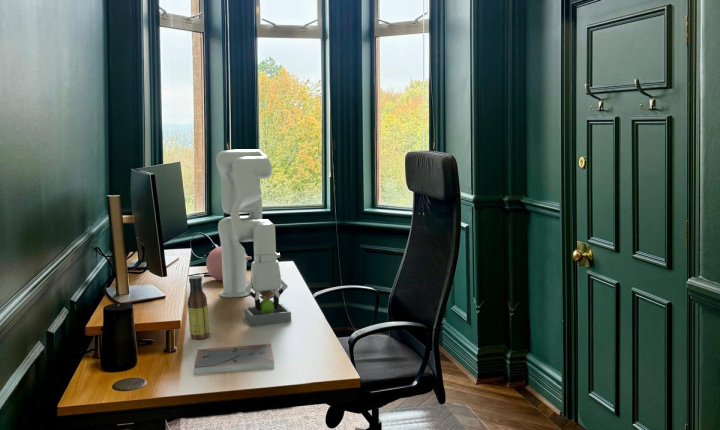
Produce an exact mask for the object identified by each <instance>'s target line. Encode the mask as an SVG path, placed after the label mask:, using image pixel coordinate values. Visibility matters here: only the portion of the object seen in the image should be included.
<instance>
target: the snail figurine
mask: <svg viewBox="0 0 720 430" xmlns="http://www.w3.org/2000/svg"><path fill="white" fill-rule="evenodd" d="M275 291H276V290H270V291H261V292H260V295H259V299H260V309H261V310H260V311H261V312H262V313H263V314H271V313H272V312H273V311H274V308H275V305H274V302H273V300H272V299H273V297H274V295H275Z"/></svg>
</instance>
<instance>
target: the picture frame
mask: <svg viewBox="0 0 720 430" xmlns="http://www.w3.org/2000/svg"><path fill="white" fill-rule="evenodd" d="M195 357H196V358H195V362H194V374H195V375H198V374H211V373H222V372H223V373H225V372H235V371H247V370H256V369H257V370H258V369H259V370H261V369H268V368H270V369H271V368H273V369H274V368H275V360H274V352H273V348H272V343H260V344H250V345H248V344H247V345H236V346H235V345H233V346H223V347H210V348H209V347H208V348H197V351H196V356H195Z"/></svg>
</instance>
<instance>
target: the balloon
mask: <svg viewBox="0 0 720 430" xmlns="http://www.w3.org/2000/svg"><path fill="white" fill-rule="evenodd" d="M252 259H253V258H252V256H248V254H247V253H246V263H248V261H249V260H252ZM205 264H206V265H205V266H206V270H207V272H208V274H209V275H210V276H211V277H212V278H213V279H214V280H217V281H219V282H220V281H221V282H223V272H222V252H221V246H217V247H215V248H214V249H212V250H211V251H210V252H209V254H208V255H207V258H206V263H205Z"/></svg>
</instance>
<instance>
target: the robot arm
mask: <svg viewBox="0 0 720 430" xmlns="http://www.w3.org/2000/svg"><path fill="white" fill-rule="evenodd" d="M215 161H216V168H217V170H218V174H219V177H220V182H221V183H220V184H221V186H220V187H221V188H220V189H221V191H220V192H221V208H222V211H223V213H225V214H227V215H230V216H227V217H224V218H222V219H220V220H219V221H218V225H217V230H218V236H219V241H220V247H221V252H222V272H223V281H222V288H223V289H222V290H220V291H219V296H220V297H223V298H242V297H247V296H249V295H250V296H251V297H252V298H253V299H254V307H255V308H257V310H258V311H260V310H261V309H260V302H261V298H260V296H261V294H260V292H261V291H270V290H276V291H275V295H274V297H273V298H272V299H273V300H272V301H273V302H274V305H275V309H278V306H279V304H280V300H279V299H280V297H281V295H282V294H283V293H284V292H285V290H287V289H288V287H289V286H288V285H287V283H286V282H285V281H284V280H283V279H282V275H281V269H280V265H279V260H278V258H281V254H280V253H278V252H277V247H276V246H277V245H276V244H277V243H276V226H275V224H274V223H273V222H272V221H271V220H270V219H268V218H267V219H266V218H265V219H263V198H262V187H261V184H260V181H259V180H263V179H264V180H265V179H269V178H270V177H271V176H272V172H273V167H272V163H271V161H270V158H269V157H268V156H267V155H266V154H265V153H263V152H262V150H260V149H255V148H254V149H228V150H227V149H226V150H222V151H219V152H218V153H217V155H216V160H215ZM241 214H249V215H241ZM248 242H253V261H252V262H251V267H250V281H249V283H248V277H247V276H248V275H247V262H246V254H247V253H246V250H245V249H246V248H244V246H243V245H242V244H241V243H248ZM251 289H252V290H253V291H254V292H253V291H252V290H251Z"/></svg>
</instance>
